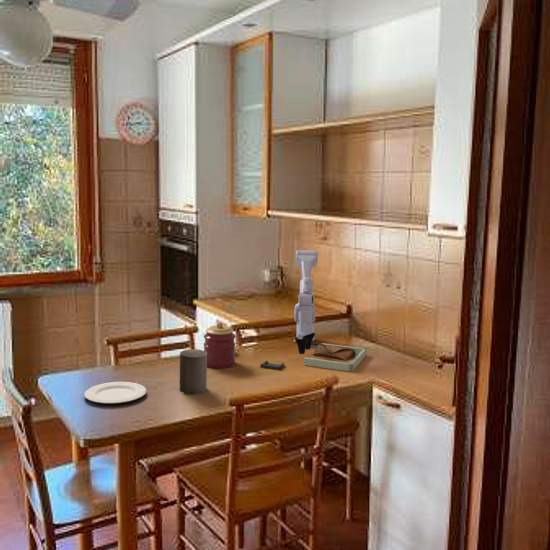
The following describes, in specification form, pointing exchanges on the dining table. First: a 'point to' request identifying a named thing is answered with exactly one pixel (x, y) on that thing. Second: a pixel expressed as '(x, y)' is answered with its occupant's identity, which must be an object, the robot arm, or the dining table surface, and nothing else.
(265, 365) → the front trap pocket
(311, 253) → the robot arm
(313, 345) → the rear trap pocket
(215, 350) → the canister
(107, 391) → the plate
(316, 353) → the sunglasses case
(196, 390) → the pillar candle
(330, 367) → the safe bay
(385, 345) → the dining table surface
